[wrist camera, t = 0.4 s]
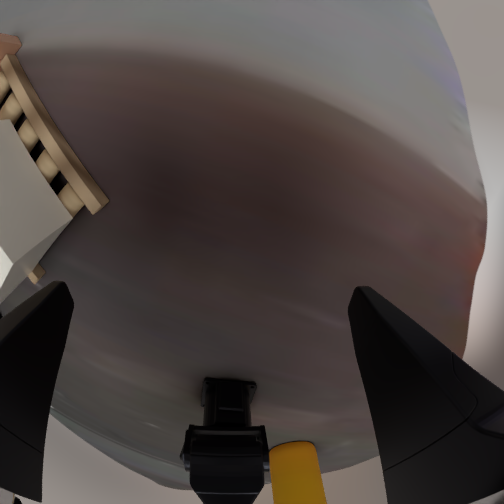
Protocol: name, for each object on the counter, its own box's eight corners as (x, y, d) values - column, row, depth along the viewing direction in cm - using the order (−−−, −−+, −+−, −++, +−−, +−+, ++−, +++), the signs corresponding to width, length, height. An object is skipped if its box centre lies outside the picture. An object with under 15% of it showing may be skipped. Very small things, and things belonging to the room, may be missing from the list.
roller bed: (109, 200, 21) (96, 209, 18) (41, 277, 23) (30, 289, 21) (15, 55, 12) (0, 53, 10) (-37, 147, 15) (-50, 151, 13)
